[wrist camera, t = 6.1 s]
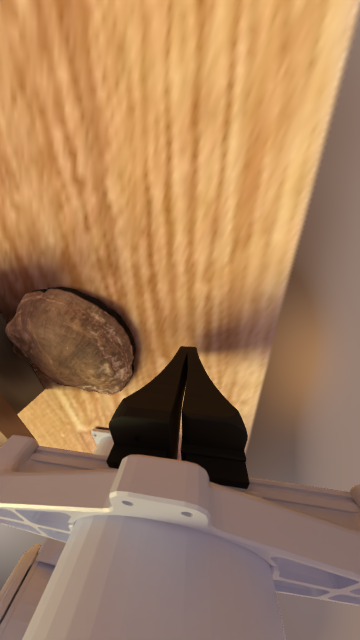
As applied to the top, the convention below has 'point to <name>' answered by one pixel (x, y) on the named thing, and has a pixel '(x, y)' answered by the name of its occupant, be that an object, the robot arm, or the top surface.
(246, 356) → the top surface
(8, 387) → the walnut shelf
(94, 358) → the shell
